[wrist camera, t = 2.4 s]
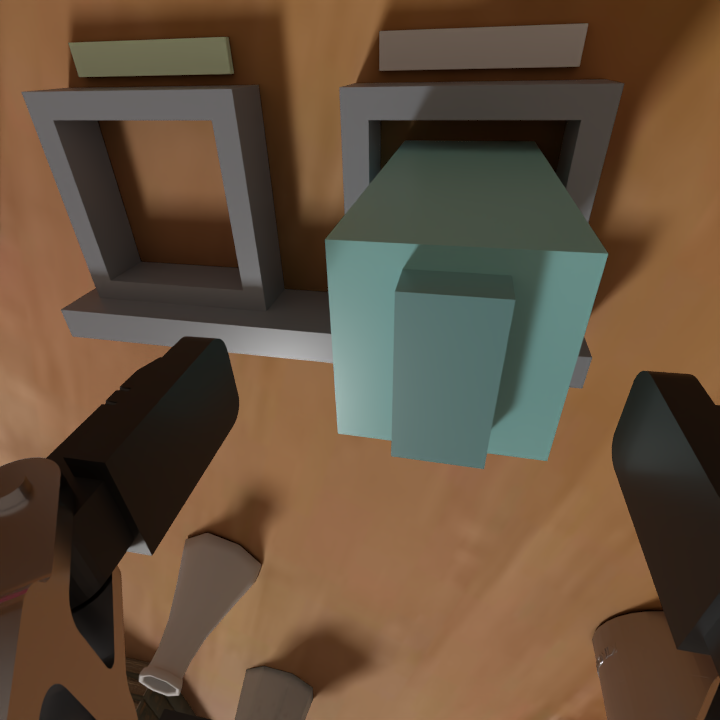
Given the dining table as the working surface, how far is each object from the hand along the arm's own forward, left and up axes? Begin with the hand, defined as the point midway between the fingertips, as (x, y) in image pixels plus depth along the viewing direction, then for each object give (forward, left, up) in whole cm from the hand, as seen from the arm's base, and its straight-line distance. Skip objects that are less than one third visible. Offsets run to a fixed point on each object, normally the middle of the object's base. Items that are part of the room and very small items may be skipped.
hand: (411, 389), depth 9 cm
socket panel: (+6, 0, -13) cm, 14 cm away
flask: (+17, +31, -13) cm, 37 cm away
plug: (-1, 0, -13) cm, 13 cm away
